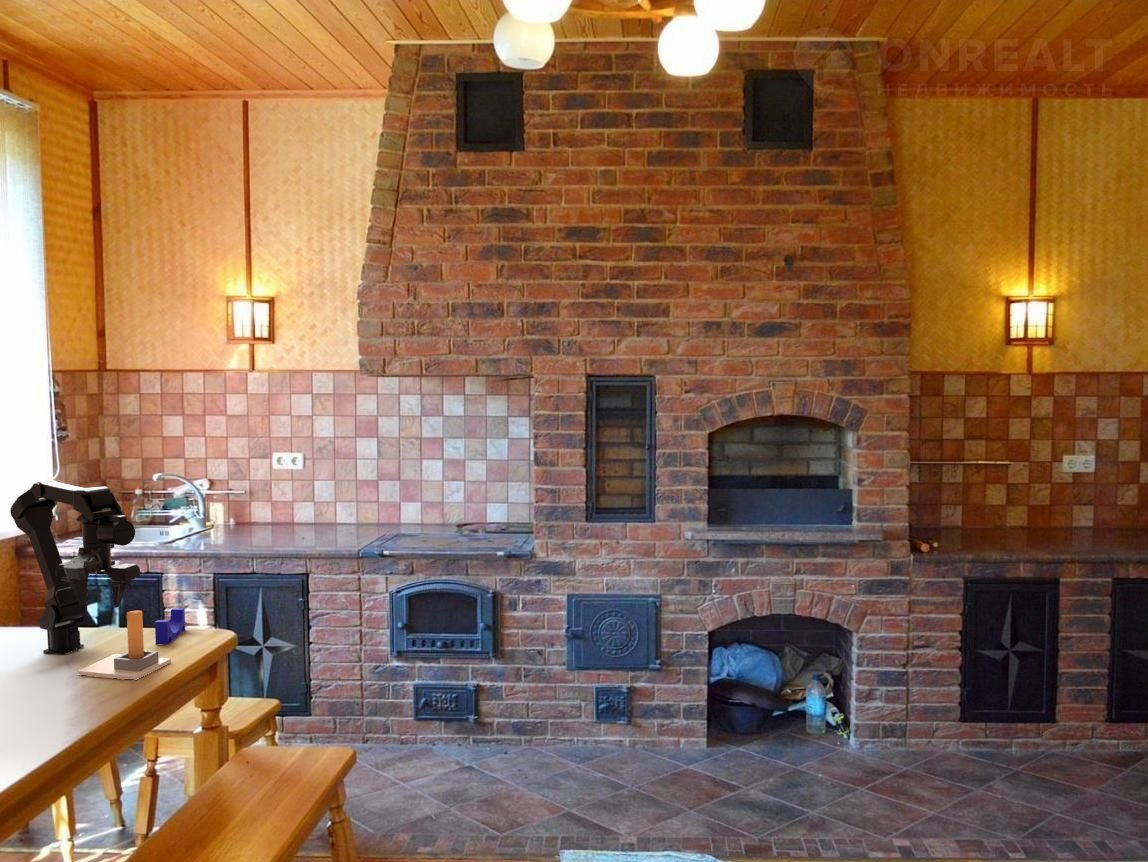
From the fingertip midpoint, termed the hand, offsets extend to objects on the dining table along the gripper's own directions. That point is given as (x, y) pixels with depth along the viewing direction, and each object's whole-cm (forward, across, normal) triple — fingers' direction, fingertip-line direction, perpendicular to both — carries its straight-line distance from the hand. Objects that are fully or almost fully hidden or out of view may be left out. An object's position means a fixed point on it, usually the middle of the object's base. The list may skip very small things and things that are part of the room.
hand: (99, 606), depth 218 cm
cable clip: (+13, +4, +19) cm, 23 cm away
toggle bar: (+12, +12, -4) cm, 18 cm away
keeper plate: (+13, +10, -4) cm, 17 cm away
